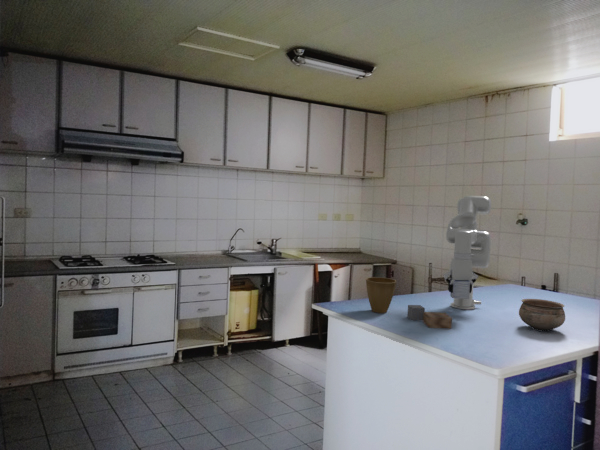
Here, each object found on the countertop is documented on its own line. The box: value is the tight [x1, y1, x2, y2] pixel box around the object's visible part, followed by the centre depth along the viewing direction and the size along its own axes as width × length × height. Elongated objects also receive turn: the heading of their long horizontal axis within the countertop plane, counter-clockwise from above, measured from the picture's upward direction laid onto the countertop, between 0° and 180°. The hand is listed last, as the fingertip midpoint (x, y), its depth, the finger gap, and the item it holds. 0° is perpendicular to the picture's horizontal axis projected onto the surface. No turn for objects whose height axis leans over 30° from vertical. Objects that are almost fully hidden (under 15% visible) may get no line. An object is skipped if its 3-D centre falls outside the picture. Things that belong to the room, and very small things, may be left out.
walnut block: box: [422, 311, 453, 330], centre depth 217 cm, size 10×10×5 cm
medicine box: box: [450, 280, 470, 299], centre depth 230 cm, size 8×4×9 cm, turn 85°
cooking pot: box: [518, 298, 566, 332], centre depth 218 cm, size 25×19×12 cm
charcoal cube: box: [406, 304, 426, 322], centre depth 227 cm, size 6×6×6 cm
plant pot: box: [365, 276, 397, 314], centre depth 238 cm, size 15×15×16 cm
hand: (459, 292), depth 230 cm, fingers closed on medicine box, 8 cm apart
